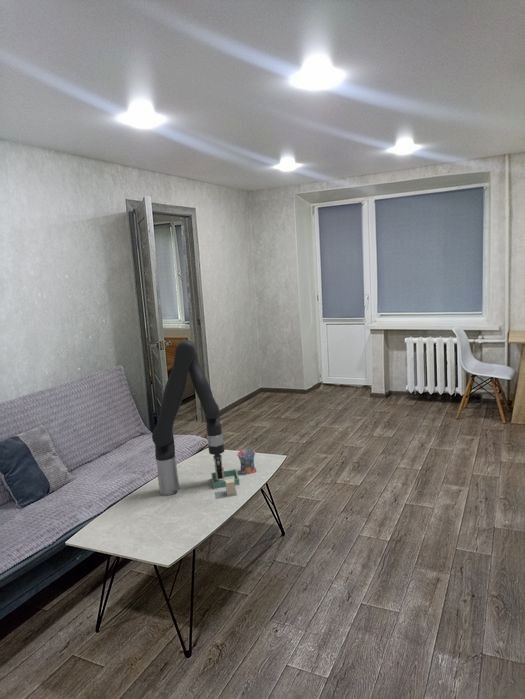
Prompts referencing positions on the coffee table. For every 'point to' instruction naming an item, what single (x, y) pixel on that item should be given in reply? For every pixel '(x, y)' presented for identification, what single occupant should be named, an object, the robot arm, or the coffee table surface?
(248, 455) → the floral patterned vase
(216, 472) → the block
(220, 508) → the coffee table surface
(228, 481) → the stone right
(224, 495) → the slate board
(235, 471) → the green bin
